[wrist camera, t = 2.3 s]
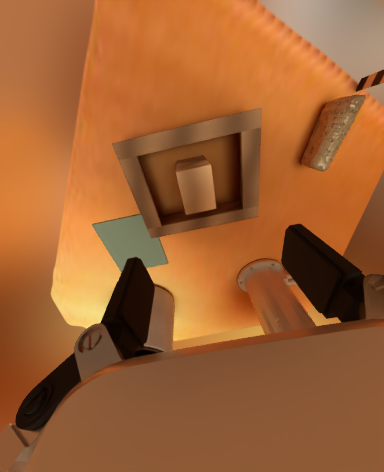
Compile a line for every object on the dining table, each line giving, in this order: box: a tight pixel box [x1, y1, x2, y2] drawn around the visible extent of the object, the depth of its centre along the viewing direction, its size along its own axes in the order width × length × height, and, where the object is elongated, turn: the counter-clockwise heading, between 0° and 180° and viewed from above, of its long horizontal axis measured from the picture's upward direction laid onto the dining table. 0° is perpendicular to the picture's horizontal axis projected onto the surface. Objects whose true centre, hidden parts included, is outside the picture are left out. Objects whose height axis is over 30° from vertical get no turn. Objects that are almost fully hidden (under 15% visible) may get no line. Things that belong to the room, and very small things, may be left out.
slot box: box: [112, 108, 262, 239], centre depth 27 cm, size 19×15×6 cm
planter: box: [134, 286, 175, 358], centre depth 41 cm, size 16×16×16 cm
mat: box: [92, 214, 168, 272], centre depth 36 cm, size 12×14×1 cm
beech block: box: [176, 155, 216, 215], centre depth 25 cm, size 4×6×9 cm
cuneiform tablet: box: [301, 70, 384, 171], centre depth 24 cm, size 7×4×12 cm
